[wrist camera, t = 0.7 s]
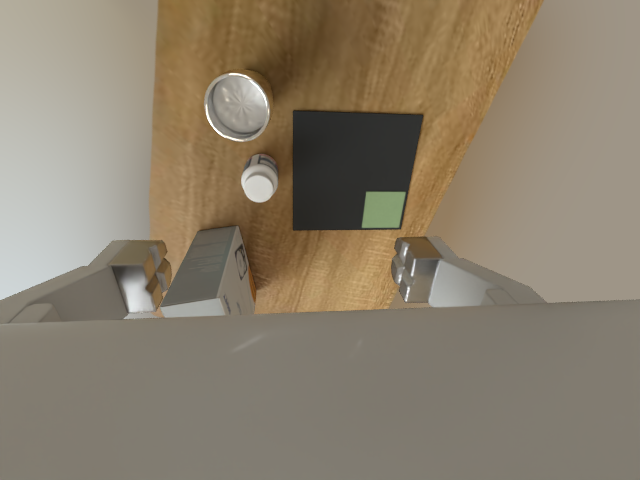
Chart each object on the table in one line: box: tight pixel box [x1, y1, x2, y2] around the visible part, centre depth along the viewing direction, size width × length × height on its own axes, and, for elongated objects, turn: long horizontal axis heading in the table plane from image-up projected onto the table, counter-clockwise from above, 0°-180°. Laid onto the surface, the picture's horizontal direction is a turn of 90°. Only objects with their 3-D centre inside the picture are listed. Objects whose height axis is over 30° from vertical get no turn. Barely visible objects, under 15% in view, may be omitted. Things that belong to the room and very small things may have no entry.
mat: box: [293, 111, 423, 230], centre depth 52 cm, size 20×20×1 cm
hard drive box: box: [160, 226, 256, 318], centre depth 50 cm, size 16×8×20 cm, turn 7°
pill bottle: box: [241, 154, 278, 202], centre depth 46 cm, size 5×5×9 cm
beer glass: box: [204, 69, 273, 142], centre depth 38 cm, size 7×7×15 cm
